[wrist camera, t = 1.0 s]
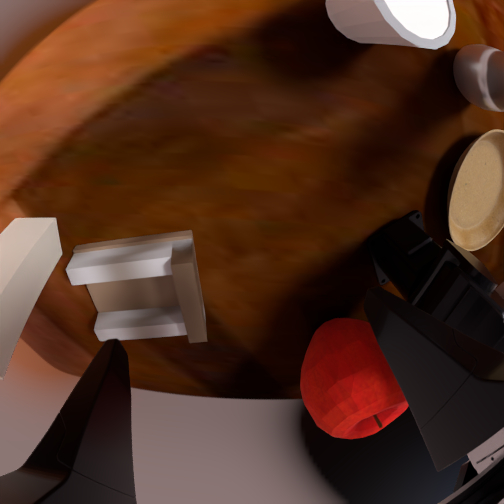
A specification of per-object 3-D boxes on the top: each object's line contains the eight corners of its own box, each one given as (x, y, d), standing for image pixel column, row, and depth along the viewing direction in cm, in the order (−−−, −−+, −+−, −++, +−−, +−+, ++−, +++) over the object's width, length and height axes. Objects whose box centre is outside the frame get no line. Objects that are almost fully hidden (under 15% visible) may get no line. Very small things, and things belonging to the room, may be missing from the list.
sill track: (191, 229, 22) (191, 258, 19) (204, 311, 27) (207, 343, 24) (75, 245, 21) (59, 274, 18) (106, 320, 26) (99, 351, 22)
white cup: (356, -37, 12) (409, -62, 6) (408, 26, 15) (470, 24, 10) (297, -1, 14) (343, -30, 8) (359, 67, 17) (420, 69, 12)
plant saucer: (429, 256, 29) (442, 269, 27) (433, 130, 21) (452, 138, 19) (499, 221, 29) (511, 230, 27) (508, 119, 21) (524, 125, 19)
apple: (370, 345, 36) (413, 425, 25) (288, 372, 35) (318, 464, 24) (383, 280, 29) (451, 374, 18) (279, 310, 29) (323, 431, 18)
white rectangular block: (55, 217, 19) (-24, 339, 9) (62, 254, 21) (3, 379, 10) (15, 218, 18) (-68, 325, 8) (23, 252, 20) (-43, 365, 9)
